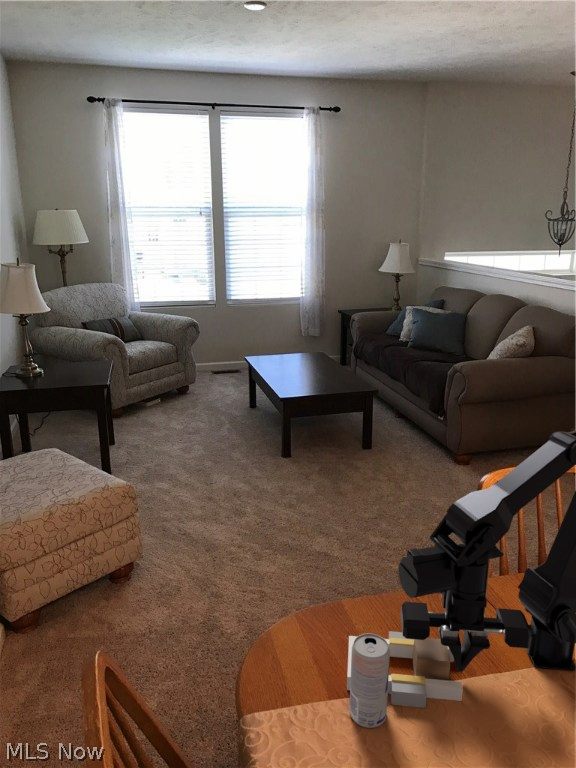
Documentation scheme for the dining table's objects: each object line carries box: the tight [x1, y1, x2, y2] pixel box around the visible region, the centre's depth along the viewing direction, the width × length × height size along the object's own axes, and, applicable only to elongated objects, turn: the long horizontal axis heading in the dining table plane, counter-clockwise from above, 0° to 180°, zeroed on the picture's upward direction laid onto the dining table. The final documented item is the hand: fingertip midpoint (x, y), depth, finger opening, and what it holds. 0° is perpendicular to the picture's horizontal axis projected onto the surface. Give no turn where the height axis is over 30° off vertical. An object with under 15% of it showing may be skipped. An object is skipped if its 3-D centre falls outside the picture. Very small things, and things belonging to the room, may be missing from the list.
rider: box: [412, 637, 451, 681], centre depth 93 cm, size 5×5×5 cm
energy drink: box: [349, 632, 391, 729], centre depth 85 cm, size 5×5×12 cm
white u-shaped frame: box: [346, 630, 464, 708], centre depth 94 cm, size 17×13×3 cm
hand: (459, 669), depth 93 cm, fingers closed
